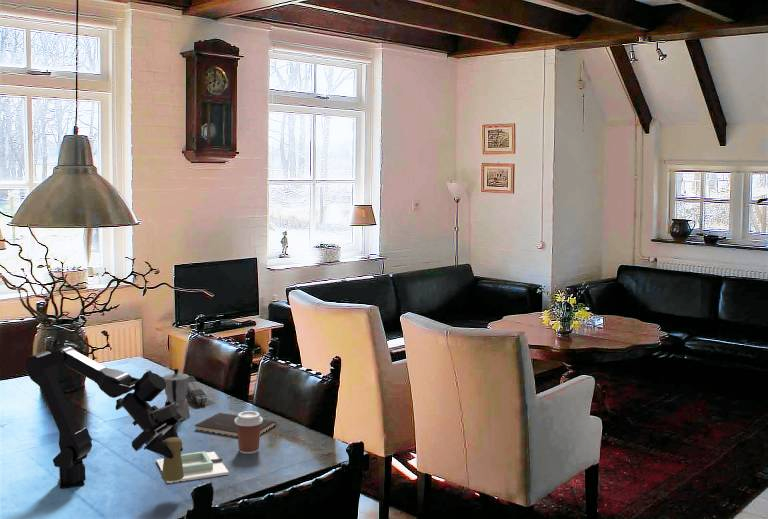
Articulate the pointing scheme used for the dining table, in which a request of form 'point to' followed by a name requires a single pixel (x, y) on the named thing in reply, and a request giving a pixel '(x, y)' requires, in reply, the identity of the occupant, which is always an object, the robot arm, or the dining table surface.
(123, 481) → the dining table surface
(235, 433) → the hardcover book
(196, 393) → the gun
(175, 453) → the cork
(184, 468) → the dock plate
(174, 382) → the coffeepot
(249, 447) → the coffee cup
